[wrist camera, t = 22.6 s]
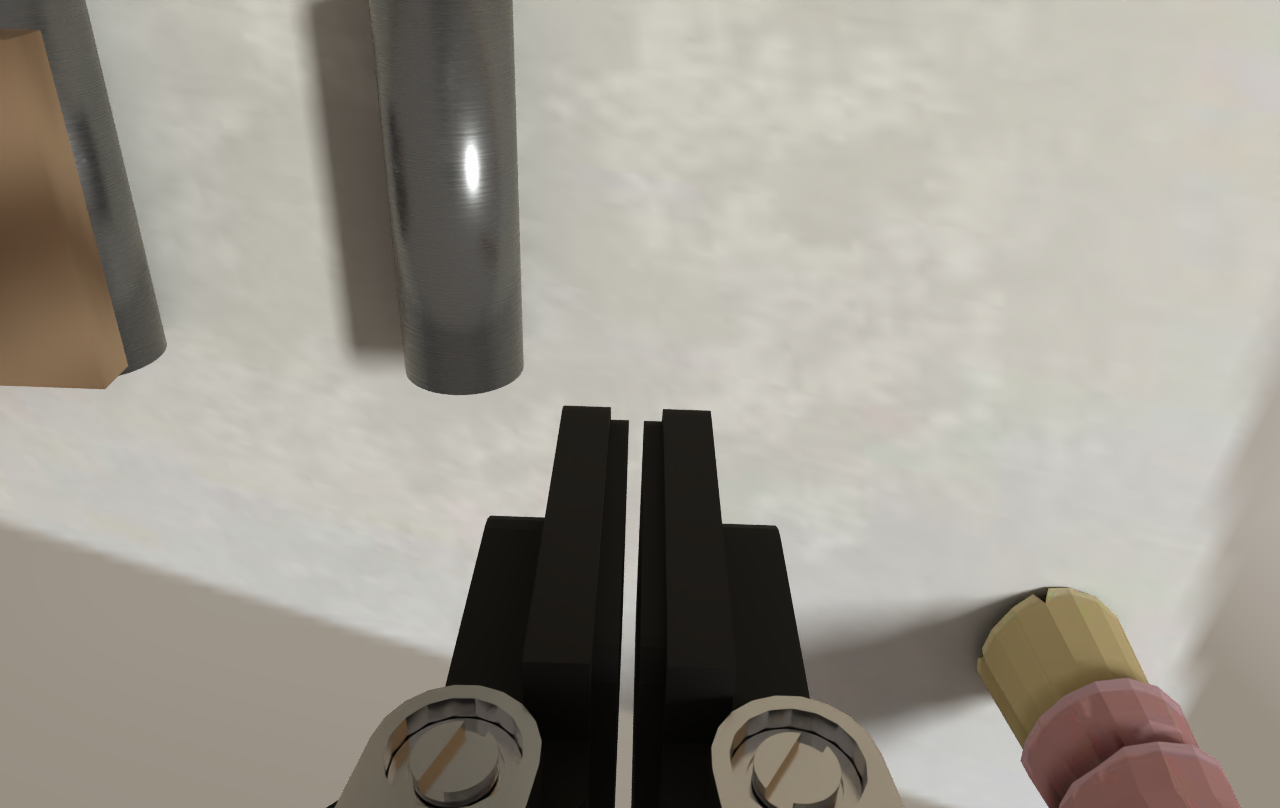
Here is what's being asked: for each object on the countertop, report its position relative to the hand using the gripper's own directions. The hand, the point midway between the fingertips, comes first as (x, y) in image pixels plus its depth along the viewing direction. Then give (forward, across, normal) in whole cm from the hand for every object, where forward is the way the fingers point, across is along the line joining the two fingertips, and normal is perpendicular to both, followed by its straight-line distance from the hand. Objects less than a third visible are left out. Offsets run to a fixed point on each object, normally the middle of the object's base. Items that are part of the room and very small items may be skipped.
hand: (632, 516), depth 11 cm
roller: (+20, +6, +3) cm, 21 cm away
